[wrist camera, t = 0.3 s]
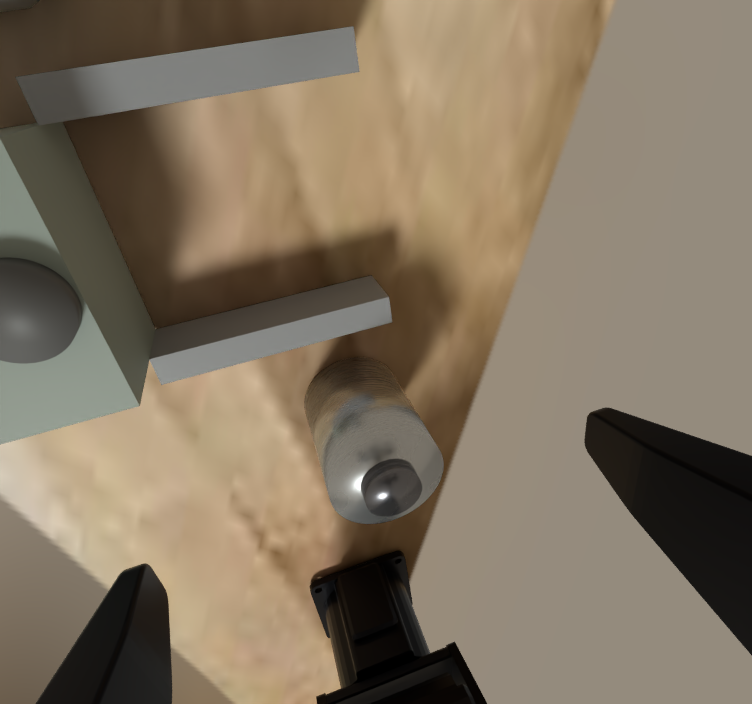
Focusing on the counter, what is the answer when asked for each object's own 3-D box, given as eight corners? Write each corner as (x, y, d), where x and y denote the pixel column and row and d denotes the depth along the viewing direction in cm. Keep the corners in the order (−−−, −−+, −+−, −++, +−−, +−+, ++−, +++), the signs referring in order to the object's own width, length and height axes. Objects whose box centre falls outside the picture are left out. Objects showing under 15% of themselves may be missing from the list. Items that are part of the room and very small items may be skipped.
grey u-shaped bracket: (375, 299, 22) (424, 365, 17) (54, 382, 20) (0, 489, 14) (335, 31, 16) (391, 13, 11) (-122, 101, 14) (-309, 116, 9)
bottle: (402, 421, 26) (454, 514, 21) (315, 447, 25) (345, 553, 20) (391, 346, 24) (448, 430, 18) (294, 373, 23) (322, 470, 17)
